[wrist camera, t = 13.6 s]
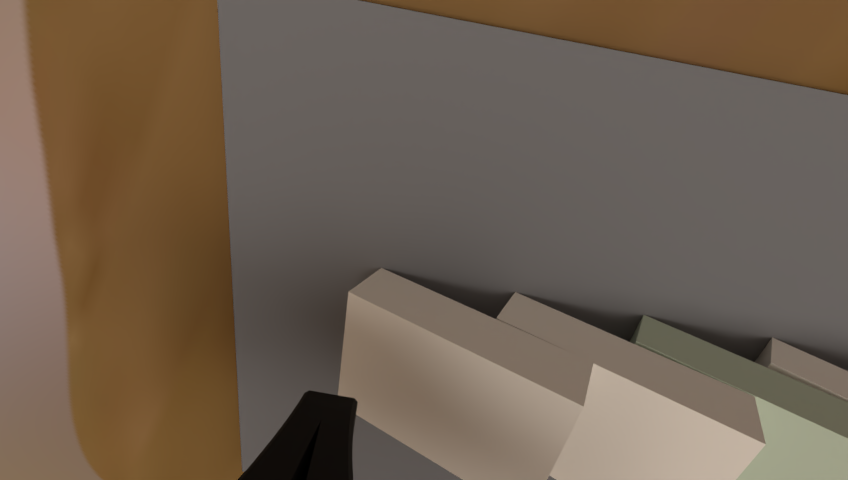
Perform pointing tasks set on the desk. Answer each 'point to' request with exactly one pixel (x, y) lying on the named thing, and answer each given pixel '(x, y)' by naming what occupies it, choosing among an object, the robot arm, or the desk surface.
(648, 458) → the domino
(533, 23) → the desk surface
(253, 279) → the charcoal mat
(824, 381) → the domino
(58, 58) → the desk surface
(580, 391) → the domino
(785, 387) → the sage domino
